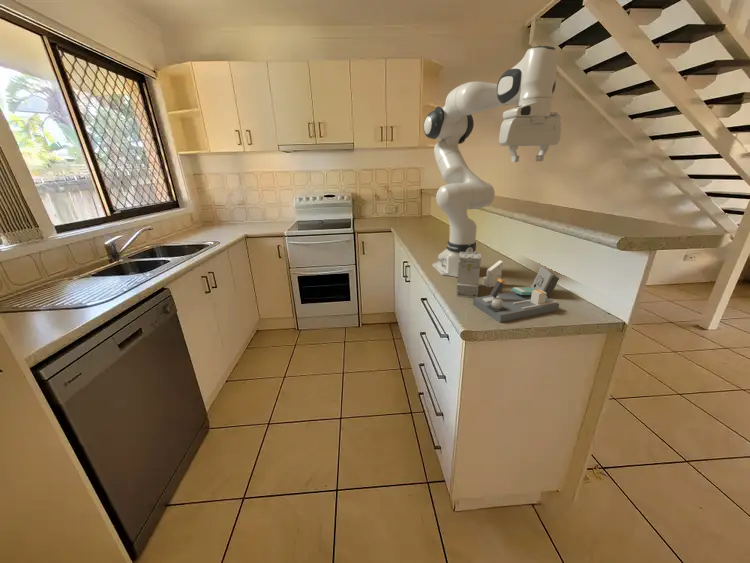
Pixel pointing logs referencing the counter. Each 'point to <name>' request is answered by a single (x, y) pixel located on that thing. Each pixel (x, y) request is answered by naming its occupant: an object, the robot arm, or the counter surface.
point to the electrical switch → (545, 281)
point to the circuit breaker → (468, 274)
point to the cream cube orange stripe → (538, 297)
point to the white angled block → (493, 274)
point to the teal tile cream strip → (523, 290)
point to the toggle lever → (497, 288)
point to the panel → (514, 306)
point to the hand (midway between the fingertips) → (527, 161)
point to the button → (497, 303)
